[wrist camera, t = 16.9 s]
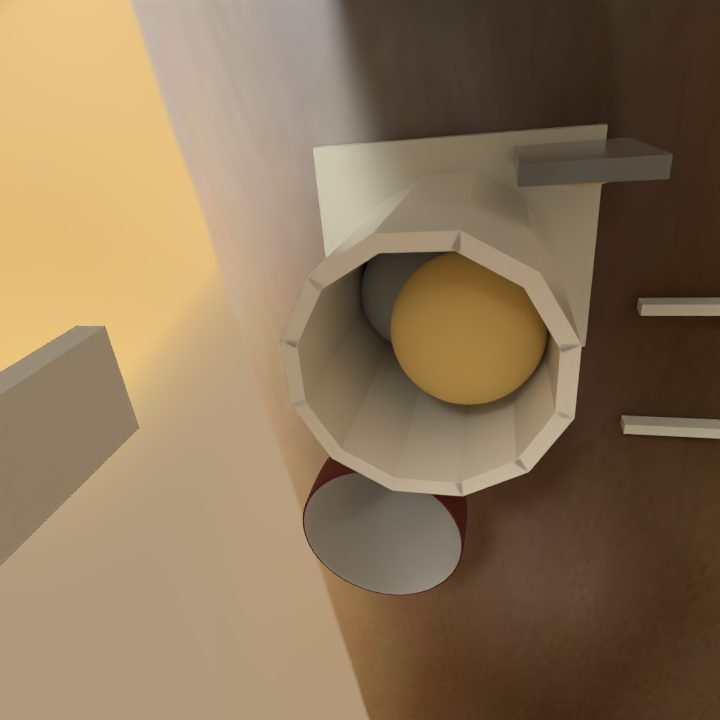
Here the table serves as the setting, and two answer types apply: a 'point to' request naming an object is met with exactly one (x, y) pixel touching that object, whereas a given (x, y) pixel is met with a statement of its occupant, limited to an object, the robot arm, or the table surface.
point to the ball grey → (388, 284)
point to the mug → (383, 532)
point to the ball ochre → (466, 331)
